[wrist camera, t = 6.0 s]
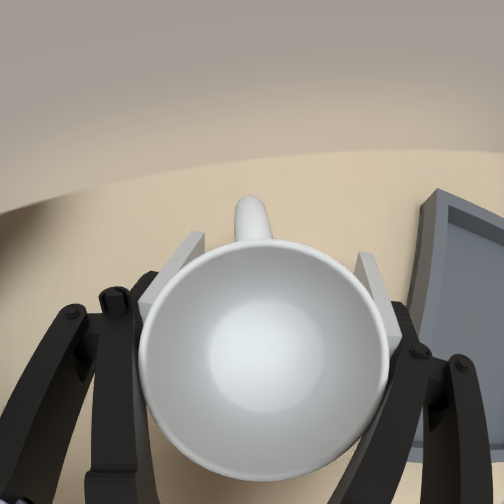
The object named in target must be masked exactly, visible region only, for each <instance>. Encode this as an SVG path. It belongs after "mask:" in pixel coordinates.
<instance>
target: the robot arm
mask: <svg viewBox="0 0 504 504" xmlns="http://www.w3.org/2000/svg"><path fill="white" fill-rule="evenodd" d="M204 253H205V233H204V232H195V231H191V232H190V233H189V235H188V236H187V237H186V238H185V240H184V241H183V242H182V244H181V245H180V246H179V247H178V249H177V250H176V251H175V253H174V254H173V255H172V256H171V258H170V259H169V260H168V262H167V263H166V264H165V266H164V267H163V268H162V269H161V271H160V272H155V271H149V272H148V273H146V274H144V275H143V276H142V277H141V278H140V279H139V280H138V282H137V283H136V284H135V285H134V286H133V288H132V289H131V290H130V291H129V290H128V289H126V288H124V287H119V286H115V287H110V288H107V289H105V290H103V291H102V292H101V293H100V295H99V301H100V305H101V309H102V313H87V312H86V308H85V307H84V306H83V305H81V304H70V305H67V306H65V307H64V308H62V309H61V310H60V311H59V313H58V315H57V316H56V318H55V319H54V321H53V322H52V324H51V326H50V327H49V329H48V330H47V332H46V334H45V335H44V337H43V339H42V340H41V342H40V344H39V345H38V347H37V349H36V350H35V352H34V354H33V356H32V357H31V359H30V361H29V363H28V364H27V366H26V368H25V370H24V372H23V373H22V375H21V377H20V379H19V381H18V383H17V385H16V387H15V389H14V391H13V392H12V394H11V396H10V398H9V400H8V402H7V405H6V407H5V409H4V411H3V413H2V415H1V417H0V504H52V502H53V499H54V495H55V492H56V488H57V484H58V481H59V477H60V473H61V470H62V466H63V463H64V459H65V456H66V453H67V450H68V446H69V443H70V440H71V437H72V434H73V431H74V428H75V425H76V422H77V419H78V416H79V413H80V410H81V408H82V405H83V402H84V399H85V397H86V394H87V391H88V388H89V386H90V383H91V381H92V378H93V375H94V373H95V378H94V390H93V405H92V428H91V469H90V471H88V472H86V475H85V481H84V488H85V504H160V502H159V499H158V496H157V491H156V485H155V478H154V471H153V464H152V457H151V449H150V440H149V431H148V421H147V409H146V402H145V399H144V396H143V392H142V388H141V384H140V378H139V370H138V352H139V345H140V338H141V334H142V330H143V326H144V323H145V320H146V318H147V315H148V313H149V311H150V308H151V306H152V305H153V303H154V301H155V300H156V298H157V296H158V294H159V293H160V292H161V290H162V289H163V288H164V287H165V285H166V284H167V283H168V281H169V280H170V279H171V278H172V277H173V276H174V275H175V274H176V273H177V272H179V271H180V270H181V269H182V268H183V267H185V266H186V265H187V264H188V263H190V262H191V261H192V260H194V259H196V258H197V257H199V256H201V255H203V254H204ZM353 275H354V276H356V278H357V279H358V280H359V281H360V282H361V283H362V285H363V286H364V287H365V288H366V290H367V291H368V293H369V294H370V296H371V297H372V299H373V300H374V302H375V304H376V306H377V308H378V311H379V313H380V315H381V317H382V320H383V323H384V327H385V330H386V334H387V340H388V346H389V372H388V380H387V385H386V389H385V393H384V396H383V399H382V401H381V404H380V406H379V409H378V411H377V413H376V415H375V417H374V418H373V420H372V422H371V424H370V425H369V427H368V428H367V429H366V431H365V432H364V433H363V435H362V437H361V440H360V442H359V444H358V446H357V448H356V450H355V452H354V454H353V456H352V458H351V461H350V462H349V464H348V466H347V468H346V470H345V472H344V474H343V476H342V478H341V480H340V482H339V483H338V485H337V487H336V489H335V491H334V492H333V494H332V496H331V498H330V499H329V501H328V503H327V504H391V502H392V499H393V497H394V495H395V492H396V489H397V487H398V484H399V482H400V479H401V476H402V474H403V471H404V468H405V465H406V462H407V459H408V456H409V453H410V450H411V447H412V443H413V440H414V437H415V433H416V430H417V426H418V422H419V418H420V415H421V411H422V406H423V469H422V485H421V498H420V504H493V479H492V465H491V454H490V445H489V437H488V430H487V423H486V417H485V411H484V406H483V400H482V395H481V391H480V386H479V381H478V377H477V373H476V369H475V366H474V363H473V362H472V361H471V359H470V358H468V357H467V356H465V355H462V354H454V355H452V356H451V357H450V359H449V360H448V361H446V360H442V359H439V358H436V357H433V356H432V352H431V350H430V349H429V348H428V347H427V346H426V345H424V344H423V343H421V342H420V341H419V338H418V336H417V333H416V330H415V328H414V325H413V324H412V320H411V318H410V315H409V312H408V310H407V308H406V307H405V306H404V305H403V304H402V303H401V302H395V301H390V299H389V296H388V293H387V290H386V288H385V285H384V282H383V280H382V277H381V274H380V272H379V269H378V267H377V264H376V262H375V259H374V257H373V254H372V253H367V252H359V253H358V257H357V262H356V266H355V270H354V274H353Z"/></svg>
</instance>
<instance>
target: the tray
mask: <svg viewBox="0 0 504 504" xmlns="http://www.w3.org/2000/svg"><path fill="white" fill-rule="evenodd" d="M406 308H407V310H408V312H409V315H410V318H411V320H412V324H413V325H414V328H415V330H416V333H417V336H418V338H419V341H420V342H421V343H423V344H424V345H426V346H427V347H428V348H429V349H430V350H431V352H432V356H433V357H436V358H439V359H442V360H446V361H448V360H449V359H450V357H451V356H452V355H454V354H462V355H465V356H467V357H468V358H470V359H471V361H472V362H473V363H474V366H475V369H476V373H477V377H478V381H479V386H480V391H481V395H482V400H483V406H484V411H485V417H486V423H487V430H488V437H489V445H490V454H491V463H494V462H504V218H502V217H500V216H498V215H496V214H494V213H492V212H490V211H488V210H486V209H484V208H481V207H479V206H477V205H475V204H473V203H471V202H468V201H466V200H464V199H462V198H459V197H457V196H455V195H452V194H450V193H448V192H445V191H443V190H440V189H438V188H437V189H436V190H435V191H434V192H433V193H432V194H431V196H430V197H429V198H428V199H427V200H426V201H425V202H424V203H423V204H422V205H421V208H420V219H419V229H418V238H417V246H416V253H415V260H414V267H413V273H412V279H411V285H410V290H409V296H408V301H407V306H406ZM407 462H417V463H423V406H422V411H421V415H420V418H419V422H418V426H417V430H416V433H415V437H414V440H413V443H412V447H411V450H410V453H409V456H408V459H407Z"/></svg>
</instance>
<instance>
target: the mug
mask: <svg viewBox="0 0 504 504" xmlns="http://www.w3.org/2000/svg"><path fill="white" fill-rule="evenodd" d="M234 228H235V242H233V243H230V244H226V245H223V246H220V247H218V248H215V249H213V250H211V251H208V252H206V253H204V254H203V255H201V256H199V257H197V258H196V259H194V260H192V261H191V262H190V263H188V264H187V265H186V266H185V267H183V268H182V269H181V270H180V271H179V272H177V273H176V274H175V275H174V276H173V277H172V278H171V279H170V280H169V281H168V283H167V284H166V285H165V287H164V288H163V289H162V290H161V292H160V293H159V294H158V296H157V298H156V300H155V301H154V303H153V305H152V306H151V308H150V311H149V313H148V315H147V318H146V320H145V323H144V326H143V330H142V334H141V338H140V345H139V352H138V370H139V378H140V384H141V388H142V392H143V396H144V399H145V402H146V404H147V406H148V409H149V411H150V414H151V415H152V417H153V419H154V421H155V422H156V424H157V426H158V427H159V429H160V430H161V431H162V433H163V434H164V435H165V436H166V438H167V439H168V440H169V441H170V442H171V443H172V444H173V445H174V446H175V447H176V448H177V449H178V450H179V451H180V452H181V453H183V454H184V455H185V456H187V457H188V458H189V459H191V460H192V461H193V462H195V463H197V464H199V465H200V466H202V467H204V468H206V469H208V470H210V471H213V472H215V473H218V474H220V475H223V476H226V477H230V478H234V479H238V480H245V481H253V482H273V481H281V480H288V479H292V478H296V477H300V476H303V475H306V474H309V473H311V472H313V471H316V470H318V469H321V468H322V467H324V466H326V465H328V464H329V463H331V462H333V461H334V460H336V459H337V458H338V457H340V456H341V455H342V454H344V453H345V452H346V451H347V450H349V449H350V448H351V447H352V446H353V445H354V444H355V443H356V442H357V441H358V439H359V438H360V437H361V436H362V435H363V433H364V432H365V431H366V429H367V428H368V427H369V425H370V424H371V422H372V420H373V418H374V417H375V415H376V413H377V411H378V409H379V406H380V404H381V401H382V399H383V396H384V393H385V389H386V385H387V380H388V372H389V346H388V340H387V334H386V330H385V327H384V323H383V320H382V317H381V315H380V313H379V311H378V308H377V306H376V304H375V302H374V300H373V299H372V297H371V296H370V294H369V293H368V291H367V290H366V288H365V287H364V286H363V285H362V283H361V282H360V281H359V280H358V279H357V278H356V276H354V275H353V274H352V273H351V272H350V271H349V270H348V269H347V268H346V267H344V266H343V265H342V264H340V263H339V262H337V261H336V260H335V259H333V258H332V257H330V256H328V255H326V254H324V253H322V252H320V251H319V250H317V249H314V248H311V247H309V246H306V245H303V244H300V243H295V242H291V241H287V240H278V239H273V237H272V232H271V227H270V223H269V219H268V215H267V212H266V209H265V206H264V204H263V202H262V201H261V200H260V199H259V198H257V197H255V196H246V197H243V198H242V199H241V200H239V201H238V203H237V205H236V207H235V218H234Z"/></svg>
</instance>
